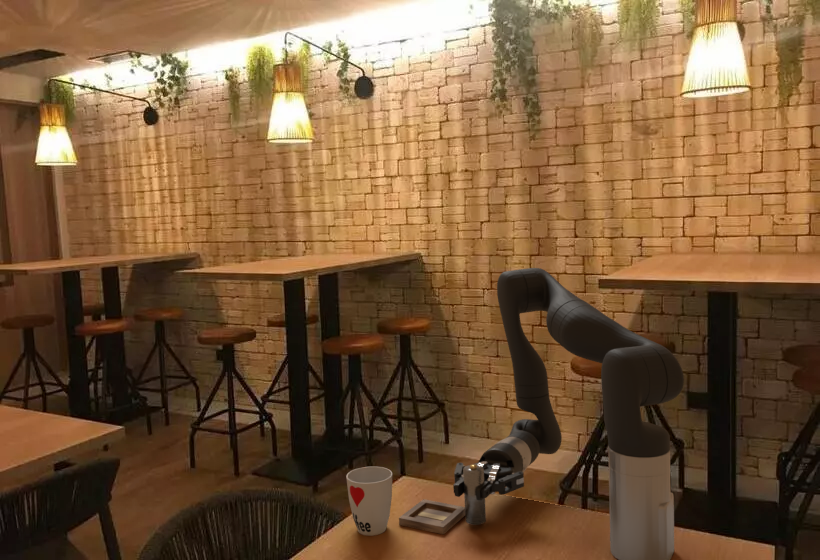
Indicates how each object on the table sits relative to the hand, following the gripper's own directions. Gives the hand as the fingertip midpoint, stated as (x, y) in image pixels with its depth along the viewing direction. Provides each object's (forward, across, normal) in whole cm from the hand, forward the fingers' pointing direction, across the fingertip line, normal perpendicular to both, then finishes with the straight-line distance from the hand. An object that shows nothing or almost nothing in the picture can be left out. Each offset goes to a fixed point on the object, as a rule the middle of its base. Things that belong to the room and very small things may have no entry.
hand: (467, 493), depth 119 cm
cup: (+6, -16, +7) cm, 19 cm away
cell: (-3, 0, +6) cm, 7 cm away
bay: (-2, -8, +7) cm, 11 cm away
